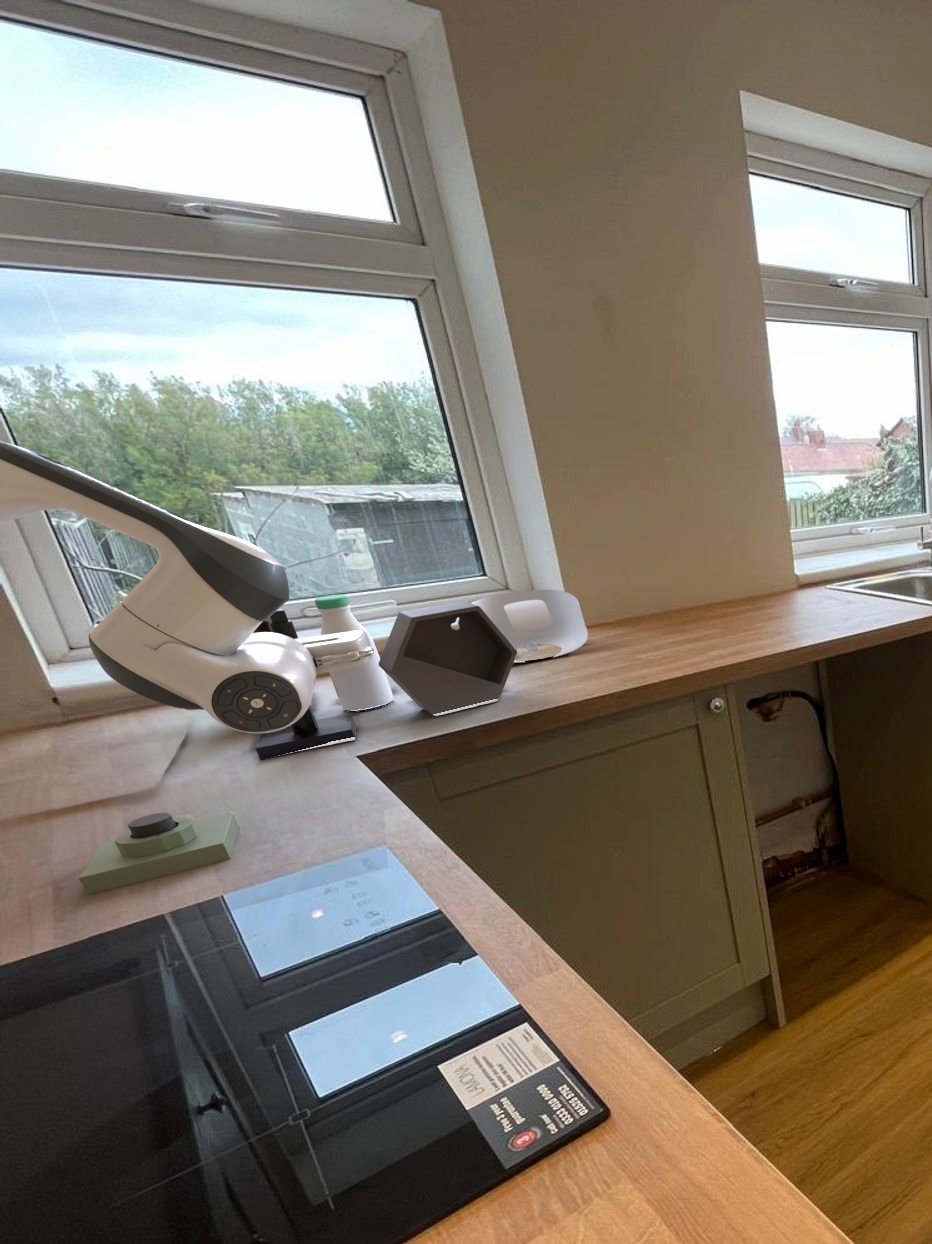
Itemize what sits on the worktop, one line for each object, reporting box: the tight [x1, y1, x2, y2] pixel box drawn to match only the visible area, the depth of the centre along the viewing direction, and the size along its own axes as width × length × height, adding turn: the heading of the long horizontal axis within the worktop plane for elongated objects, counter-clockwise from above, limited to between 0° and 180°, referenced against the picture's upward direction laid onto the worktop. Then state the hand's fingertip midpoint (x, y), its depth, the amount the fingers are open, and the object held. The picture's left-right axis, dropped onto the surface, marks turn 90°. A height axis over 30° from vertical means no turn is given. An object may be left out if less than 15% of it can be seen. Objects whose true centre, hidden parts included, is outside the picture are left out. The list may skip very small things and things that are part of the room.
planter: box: [378, 600, 517, 716], centre depth 143 cm, size 17×8×21 cm
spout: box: [266, 607, 299, 639], centre depth 122 cm, size 15×4×12 cm, turn 51°
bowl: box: [471, 589, 589, 663], centre depth 177 cm, size 20×19×12 cm
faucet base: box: [253, 621, 356, 761], centre depth 128 cm, size 12×10×20 cm
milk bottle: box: [314, 594, 394, 711], centre depth 144 cm, size 8×8×20 cm
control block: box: [78, 813, 240, 895], centre depth 95 cm, size 12×10×4 cm
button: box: [127, 812, 177, 839], centre depth 94 cm, size 4×4×2 cm
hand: (277, 647), depth 108 cm, fingers open, 8 cm apart
